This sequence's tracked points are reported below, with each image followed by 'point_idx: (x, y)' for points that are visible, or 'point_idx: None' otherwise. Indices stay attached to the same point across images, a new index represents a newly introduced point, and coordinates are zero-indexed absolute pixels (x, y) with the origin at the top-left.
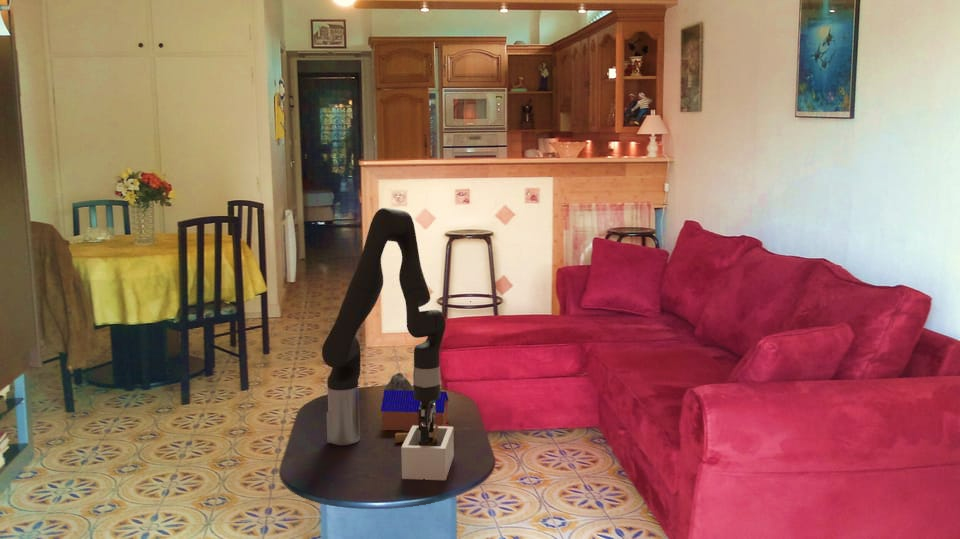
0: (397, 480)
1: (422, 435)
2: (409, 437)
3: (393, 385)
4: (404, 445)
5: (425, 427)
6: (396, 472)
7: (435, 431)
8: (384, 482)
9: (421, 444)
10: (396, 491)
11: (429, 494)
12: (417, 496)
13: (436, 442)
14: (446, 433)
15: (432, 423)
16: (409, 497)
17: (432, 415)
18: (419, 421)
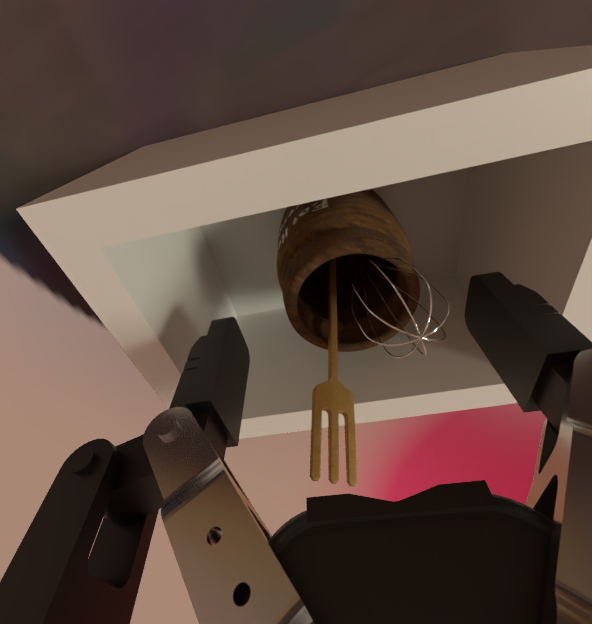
0: (111, 127)
1: (180, 389)
2: (295, 179)
3: None
4: (74, 219)
5: (109, 518)
6: (204, 64)
7: (329, 421)
8: (35, 51)
9: (288, 273)
10: (4, 183)
11: (88, 316)
12: (41, 285)
13: (341, 347)
14: (434, 396)
15: (504, 376)
16: (8, 261)
17: (537, 473)
18: (10, 591)
